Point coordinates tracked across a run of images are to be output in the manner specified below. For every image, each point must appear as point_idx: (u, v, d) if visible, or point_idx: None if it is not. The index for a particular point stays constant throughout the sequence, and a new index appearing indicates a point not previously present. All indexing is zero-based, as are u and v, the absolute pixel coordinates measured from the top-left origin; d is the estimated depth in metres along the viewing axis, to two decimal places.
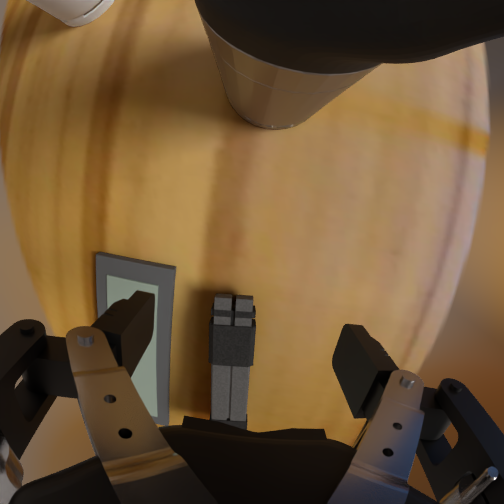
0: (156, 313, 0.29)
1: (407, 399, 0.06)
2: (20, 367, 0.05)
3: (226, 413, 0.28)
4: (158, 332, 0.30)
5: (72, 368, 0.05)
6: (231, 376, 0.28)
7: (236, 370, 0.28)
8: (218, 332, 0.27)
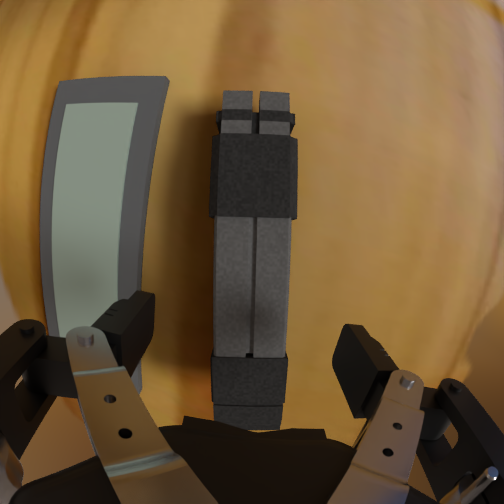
0: (127, 152, 0.17)
1: (407, 399, 0.06)
2: (20, 367, 0.05)
3: (245, 340, 0.15)
4: (127, 189, 0.17)
5: (73, 368, 0.05)
6: (255, 244, 0.15)
7: (265, 229, 0.15)
8: (229, 146, 0.14)
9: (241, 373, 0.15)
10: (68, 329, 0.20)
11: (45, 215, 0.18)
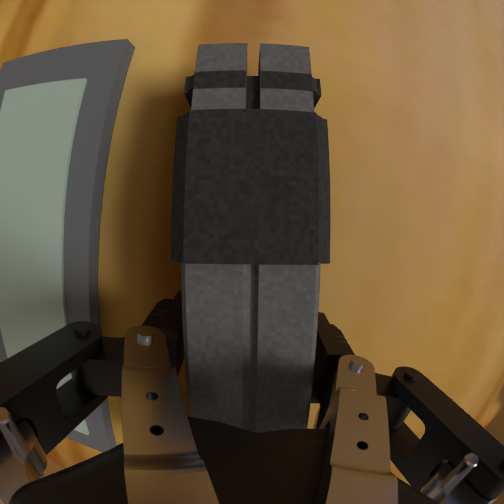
0: (69, 149, 0.10)
1: (361, 385, 0.07)
2: (67, 367, 0.06)
3: None
4: (69, 204, 0.11)
5: (125, 363, 0.06)
6: (255, 312, 0.08)
7: (273, 285, 0.08)
8: (205, 132, 0.07)
9: None
10: None
11: None
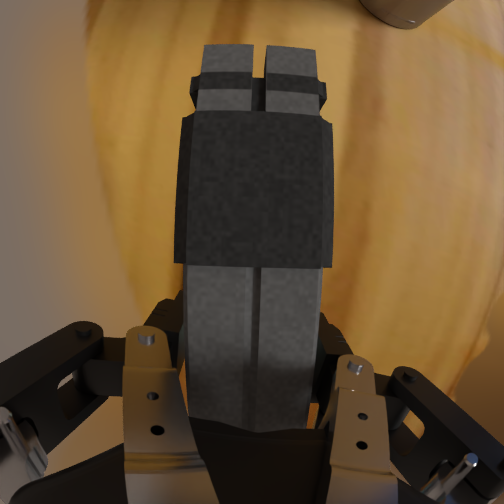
0: None
1: (361, 384, 0.07)
2: (68, 367, 0.06)
3: None
4: None
5: (126, 362, 0.06)
6: (257, 314, 0.08)
7: (275, 288, 0.08)
8: (209, 134, 0.07)
9: None
10: None
11: None
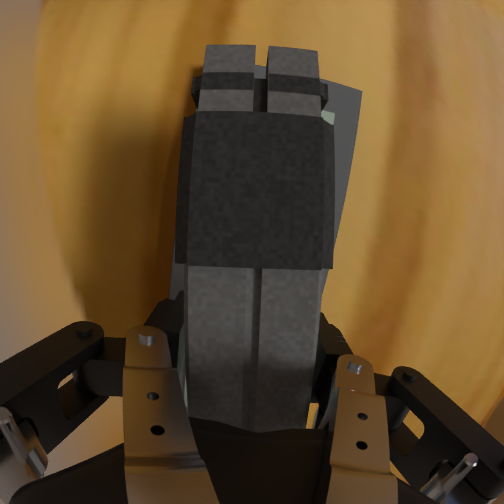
0: None
1: (360, 384, 0.07)
2: (68, 367, 0.06)
3: None
4: None
5: (126, 363, 0.06)
6: (257, 315, 0.08)
7: (276, 289, 0.08)
8: (211, 134, 0.07)
9: None
10: None
11: None
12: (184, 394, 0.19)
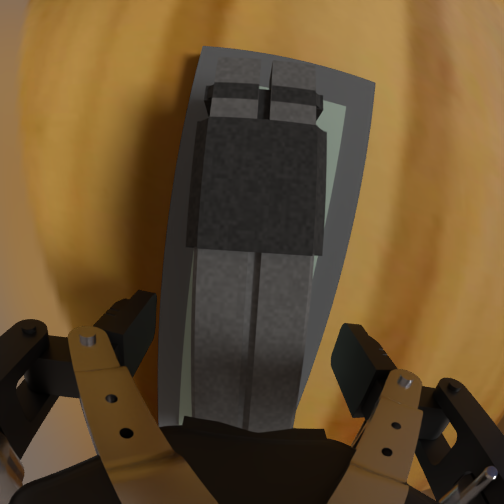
0: (335, 170, 0.13)
1: (405, 398, 0.06)
2: (22, 367, 0.05)
3: (236, 423, 0.10)
4: (330, 219, 0.14)
5: (74, 368, 0.05)
6: (256, 294, 0.09)
7: (273, 271, 0.09)
8: (221, 137, 0.09)
9: None
10: None
11: (177, 246, 0.14)
12: (179, 414, 0.17)
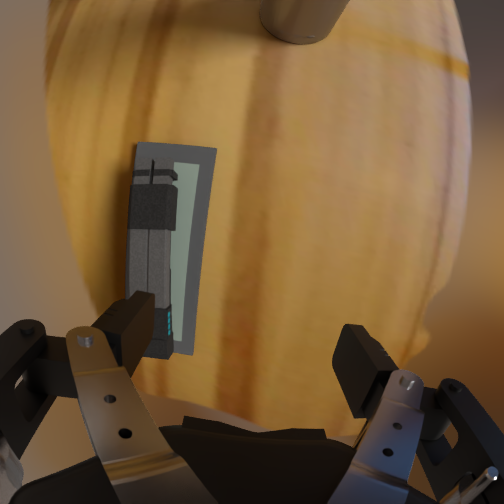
0: (194, 195, 0.30)
1: (407, 399, 0.06)
2: (20, 367, 0.05)
3: None
4: (194, 217, 0.31)
5: (72, 368, 0.05)
6: (148, 244, 0.26)
7: (153, 235, 0.26)
8: (136, 191, 0.26)
9: None
10: None
11: None
12: None
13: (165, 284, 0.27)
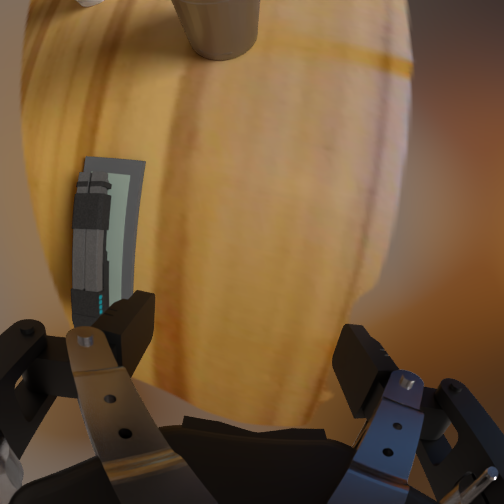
0: (126, 200, 0.35)
1: (407, 399, 0.06)
2: (20, 367, 0.05)
3: (82, 282, 0.31)
4: (126, 219, 0.35)
5: (72, 368, 0.05)
6: (86, 240, 0.31)
7: (88, 234, 0.31)
8: (78, 199, 0.30)
9: (81, 298, 0.31)
10: None
11: None
12: None
13: (97, 272, 0.31)
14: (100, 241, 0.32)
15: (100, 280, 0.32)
